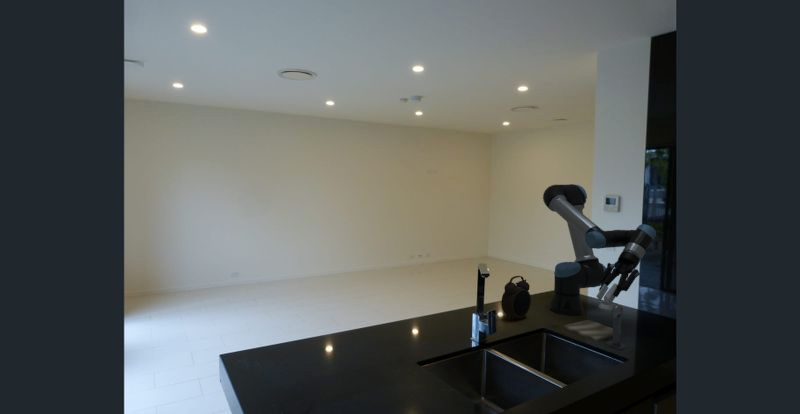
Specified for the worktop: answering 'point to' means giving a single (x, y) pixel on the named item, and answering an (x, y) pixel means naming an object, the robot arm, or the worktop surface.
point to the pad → (590, 329)
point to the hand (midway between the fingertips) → (603, 300)
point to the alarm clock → (516, 298)
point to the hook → (606, 304)
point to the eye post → (617, 328)
